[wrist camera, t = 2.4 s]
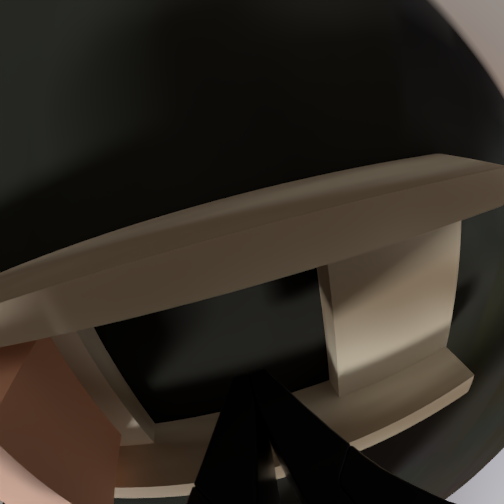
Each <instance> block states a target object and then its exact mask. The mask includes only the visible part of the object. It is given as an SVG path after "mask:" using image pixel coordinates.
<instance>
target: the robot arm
mask: <svg viewBox="0 0 504 504" xmlns="http://www.w3.org/2000/svg"><path fill="white" fill-rule="evenodd" d="M270 443H271V444H270ZM271 445H272V448H273V450H274V452H275V455H276V457H277V459H278V461H279V463H280V465H281V467H282V469H283V471H284V473H285V475H286V477H287V479H288V481H289V483H290V485H291V487H292V489H293V491H294V493H295V495H296V497H297V499H298V501H299V503H300V504H455V503H452V502H449V501H447V500H444V499H442V498H439V497H437V496H435V495H433V494H431V493H429V492H427V491H425V490H423V489H420V488H418V487H416V486H414V485H412V484H410V483H409V482H407V481H405V480H403V479H401V478H399V477H397V476H395V475H394V474H392V473H390V472H389V471H387V470H385V469H384V468H382V467H380V466H379V465H378V464H376V463H375V462H373V461H372V460H371V459H369V458H368V457H366V456H365V455H364V454H363V453H361V452H360V451H359V450H358V449H356V448H355V447H354V446H350V443H349V442H347V441H346V440H345V439H344V438H343V437H341V436H340V435H339V434H338V433H337V432H335V431H334V430H333V429H332V428H331V427H330V426H328V425H327V424H326V423H325V422H324V421H323V420H321V419H320V418H319V417H318V416H317V415H316V414H314V413H313V412H312V411H311V410H310V409H309V408H308V407H307V406H305V405H304V404H303V403H302V402H301V401H300V400H299V399H298V398H297V397H295V396H294V395H293V394H292V393H291V392H290V391H289V390H288V389H287V388H286V387H284V386H283V385H282V384H281V383H280V382H279V381H278V380H277V379H276V378H275V377H274V376H273V375H272V374H271V373H270V372H268V371H267V370H266V369H265V368H262V369H258V370H254V371H251V372H250V374H248V373H243V374H240V375H236V376H234V377H233V378H232V380H231V383H230V386H229V388H228V391H227V394H226V397H225V400H224V403H223V405H222V408H221V411H220V414H219V417H218V419H217V422H216V425H215V428H214V431H213V433H212V436H211V439H210V442H209V444H208V447H207V450H206V452H205V455H204V458H203V461H202V463H201V466H200V469H199V471H198V474H197V477H196V479H195V482H194V485H195V486H194V487H192V490H191V492H190V495H189V497H188V500H187V502H186V504H280V500H279V493H278V487H277V480H276V473H275V467H274V460H273V454H272V448H271Z"/></svg>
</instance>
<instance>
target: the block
mask: <svg viewBox="0 0 504 504" xmlns="http://www.w3.org/2000/svg"><path fill="white" fill-rule="evenodd" d="M120 442H121V434H120V433H119V431H118V430H117V429H116V428H115V427H114V426H113V424H112V423H111V422H110V421H109V420H108V418H107V417H106V416H105V415H104V414H103V412H102V411H101V410H100V409H99V407H98V406H97V405H96V403H95V402H94V401H93V399H92V398H91V397H90V395H89V394H88V393H87V391H86V390H85V389H84V387H83V386H82V385H81V383H80V382H79V380H78V379H77V377H76V376H75V375H74V373H73V372H72V370H71V369H70V367H69V366H68V364H67V363H66V361H65V360H64V358H63V356H62V355H61V353H60V352H59V350H58V348H57V347H56V345H55V344H54V342H53V340H52V338H51V337H48V338H43V339H38V340H34V341H29V342H24V343H19V344H14V345H9V346H4V347H0V500H1V501H2V502H4V503H5V504H114V492H115V482H116V473H117V464H118V456H119V449H120Z"/></svg>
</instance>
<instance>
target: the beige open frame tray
mask: <svg viewBox="0 0 504 504" xmlns="http://www.w3.org/2000/svg"><path fill="white" fill-rule="evenodd" d="M502 205H504V165H499V164H495V163H490V162H485V161H480V160H475V159H469V158H464V157H458V156H452V155H446V154H439V153H438V154H431V155H425V156H419V157H413V158H407V159H401V160H395V161H389V162H384V163H378V164H373V165H368V166H362V167H357V168H352V169H347V170H342V171H337V172H333V173H328V174H323V175H319V176H314V177H309V178H305V179H301V180H296V181H292V182H288V183H283V184H279V185H275V186H271V187H267V188H263V189H258V190H254V191H251V192H247V193H243V194H239V195H235V196H231V197H227V198H224V199H220V200H216V201H212V202H209V203H205V204H202V205H198V206H194V207H191V208H187V209H184V210H180V211H177V212H174V213H170V214H167V215H163V216H160V217H157V218H153V219H150V220H147V221H144V222H140V223H137V224H134V225H131V226H128V227H125V228H122V229H118V230H115V231H112V232H109V233H106V234H103V235H100V236H97V237H94V238H91V239H89V240H86V241H83V242H80V243H77V244H74V245H71V246H69V247H66V248H63V249H60V250H57V251H55V252H52V253H49V254H47V255H44V256H41V257H39V258H36V259H33V260H31V261H28V262H26V263H23V264H21V265H18V266H15V267H13V268H10V269H8V270H6V271H3V272H1V273H0V347H4V346H9V345H14V344H19V343H24V342H29V341H34V340H38V339H43V338H48V337H51V338H52V340H53V342H54V344H55V345H56V347H57V348H58V350H59V352H60V353H61V355H62V356H63V358H64V360H65V361H66V363H67V364H68V366H69V367H70V369H71V370H72V372H73V373H74V375H75V376H76V377H77V379H78V380H79V382H80V383H81V385H82V386H83V387H84V389H85V390H86V391H87V393H88V394H89V395H90V397H91V398H92V399H93V401H94V402H95V403H96V405H97V406H98V407H99V409H100V410H101V411H102V412H103V414H104V415H105V416H106V417H107V418H108V420H109V421H110V422H111V423H112V424H113V426H114V427H115V428H116V429H117V430H118V431H119V433H120V434H121V442H120V449H119V456H118V464H117V473H116V482H115V492H114V498H157V497H173V496H185V495H190V492H191V490H192V487H194V486H195V485H194V482H195V479H196V477H197V474H198V471H199V469H200V466H201V463H202V461H203V458H204V455H205V452H206V450H207V447H208V444H209V442H210V439H211V436H212V433H213V431H214V428H215V425H216V422H217V419H218V417H219V414H220V412H217V413H213V414H208V415H203V416H198V417H193V418H187V419H182V420H176V421H170V422H163V423H156V424H155V423H154V421H153V420H152V419H151V417H150V416H149V415H148V413H147V412H146V411H145V409H144V408H143V406H142V405H141V403H140V402H139V401H138V399H137V398H136V396H135V395H134V393H133V392H132V390H131V389H130V387H129V386H128V384H127V383H126V381H125V380H124V378H123V377H122V375H121V373H120V372H119V370H118V369H117V367H116V365H115V364H114V362H113V360H112V359H111V357H110V355H109V354H108V352H107V350H106V349H105V347H104V345H103V343H102V342H101V340H100V338H99V336H98V334H97V333H96V331H95V329H94V327H97V326H101V325H105V324H110V323H114V322H118V321H122V320H126V319H130V318H134V317H138V316H142V315H146V314H150V313H154V312H158V311H162V310H166V309H170V308H174V307H178V306H182V305H185V304H189V303H193V302H197V301H201V300H204V299H208V298H212V297H215V296H219V295H223V294H226V293H230V292H234V291H237V290H241V289H244V288H248V287H252V286H255V285H259V284H262V283H266V282H269V281H273V280H276V279H280V278H283V277H286V276H290V275H293V274H297V273H300V272H303V271H307V270H310V269H313V268H317V274H318V282H319V289H320V297H321V304H322V313H323V321H324V330H325V339H326V348H327V358H328V369H329V380H328V381H325V382H322V383H319V384H317V385H314V386H311V387H308V388H305V389H302V390H299V391H295V392H292V394H293V395H294V396H295V397H297V398H298V399H299V400H300V401H301V402H302V403H303V404H304V405H305V406H307V407H308V408H309V409H310V410H311V411H312V412H313V413H314V414H316V415H317V416H318V417H319V418H320V419H321V420H323V421H324V422H325V423H326V424H327V425H328V426H330V427H331V428H332V429H333V430H334V431H335V432H337V433H338V434H339V435H340V436H341V437H343V438H344V439H345V440H346V441H347V442H349V443H350V446H354V447H355V448H356V449H358V450H359V451H361V450H363V449H366V448H368V447H370V446H373V445H375V444H377V443H379V442H381V441H383V440H385V439H388V438H390V437H392V436H394V435H396V434H398V433H400V432H402V431H404V430H405V429H407V428H409V427H411V426H413V425H415V424H417V423H418V422H420V421H422V420H424V419H425V418H427V417H429V416H431V415H432V414H434V413H436V412H437V411H439V410H441V409H442V408H444V407H445V406H447V405H449V404H450V403H452V402H453V401H455V400H456V399H458V398H459V397H461V396H462V395H464V394H465V393H467V392H468V391H469V388H470V386H471V383H472V380H473V378H474V374H473V373H472V372H471V371H470V370H469V369H468V368H467V367H466V366H465V365H464V364H463V363H462V362H461V361H460V360H459V359H458V358H457V357H456V356H455V355H454V354H453V353H452V352H451V351H450V350H449V349H448V348H447V347H446V345H447V340H448V335H449V330H450V325H451V319H452V314H453V307H454V301H455V294H456V286H457V277H458V267H459V255H460V239H461V220H464V219H467V218H469V217H472V216H475V215H478V214H481V213H483V212H486V211H489V210H492V209H494V208H497V207H500V206H502ZM270 444H271V443H270ZM271 448H272V445H271ZM272 454H273V460H274V467H275V473H276V479H279V478H283V477H286V475H285V473H284V471H283V469H282V467H281V465H280V463H279V461H278V459H277V457H276V455H275V452H274V450H273V448H272Z"/></svg>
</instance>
